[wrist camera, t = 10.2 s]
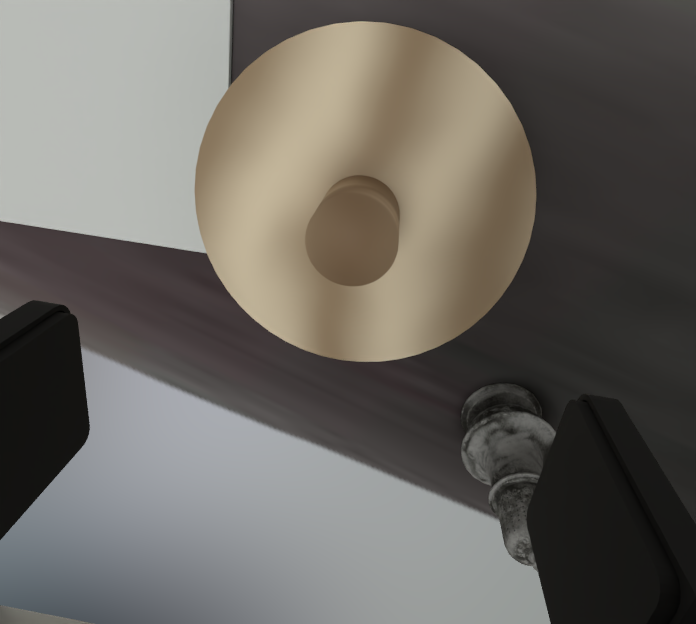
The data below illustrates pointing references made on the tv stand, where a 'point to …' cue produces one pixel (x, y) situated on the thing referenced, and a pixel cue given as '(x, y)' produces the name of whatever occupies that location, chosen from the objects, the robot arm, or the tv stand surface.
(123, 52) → the mat
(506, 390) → the salt shaker
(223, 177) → the lid
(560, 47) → the tv stand surface
